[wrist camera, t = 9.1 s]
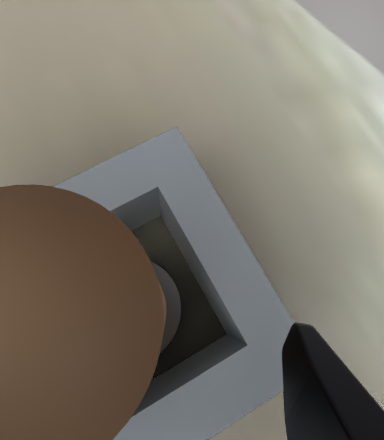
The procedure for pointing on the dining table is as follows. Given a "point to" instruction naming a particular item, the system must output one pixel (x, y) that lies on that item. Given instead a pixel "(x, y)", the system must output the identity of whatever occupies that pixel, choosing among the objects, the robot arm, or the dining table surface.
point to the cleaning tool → (75, 317)
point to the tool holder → (210, 284)
